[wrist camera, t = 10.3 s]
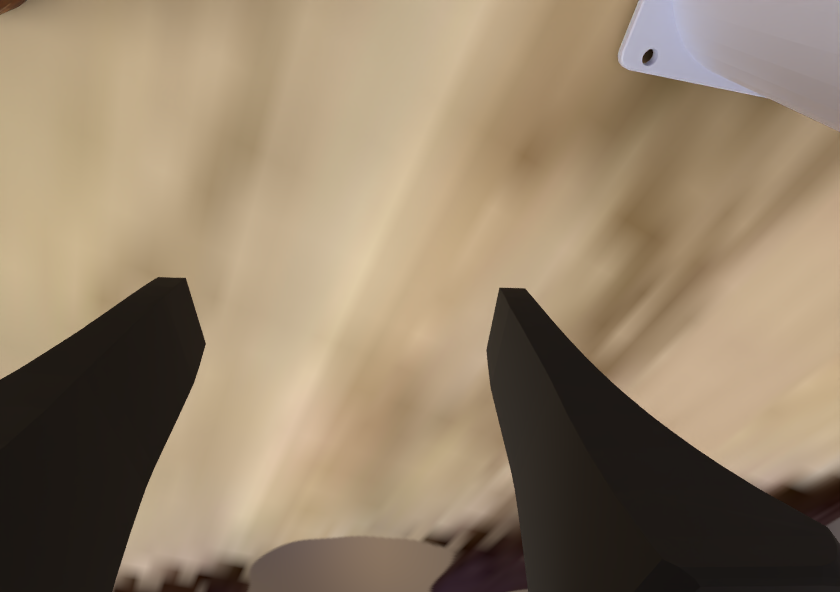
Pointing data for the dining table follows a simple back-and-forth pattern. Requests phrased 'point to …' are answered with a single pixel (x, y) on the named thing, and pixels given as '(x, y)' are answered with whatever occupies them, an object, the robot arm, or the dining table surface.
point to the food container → (9, 5)
